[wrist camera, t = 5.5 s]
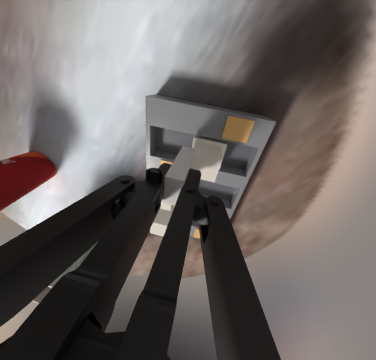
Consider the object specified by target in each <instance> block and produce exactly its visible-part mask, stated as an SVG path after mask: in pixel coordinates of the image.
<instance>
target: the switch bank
mask: <svg viewBox="0 0 376 360" xmlns="http://www.w3.org/2000/svg"><path fill="white" fill-rule="evenodd" d="M275 124H276V121H274V120H273V119H271V118H270V117H268V116H264V115H259V114H254V113H249V112H244V111H239V110H234V109H229V108H223V107H218V106H213V105H208V104H203V103H198V102H193V101H188V100H183V99H177V98H172V97H167V96H162V95H157V94H155V95H149V96H146V160H147V169H149V168H159V167H160V165H161V164H163V163H168V164H173V162H174V160H175V158H176V157H177V155H178V153H179V152H180V150H181V148H182V147H183V146H186V147H190V148H192V144H193V139H194V136H195V135H198V136H203V137H208V138H213V139H217V140H222V141H227V148H226V151H225V154H224V157H223V160H222V163H221V166H220V170H218V174H217V177H216V180H215V182H211V181H206V180H202V179H200V184H199V189H198V191H199V193H200V194H201V195H202V196H204V197H206V198H207V197H209V196H216V197H218V198H220V199H221V200H222V201H223V203H224V205H225V208H226V211H227V213H228V216H229V219H230V218H231V216H232V214H233V212H234V210H235V208H236V206H237V204H238V202H239V199H240V197H241V195H242V193H243V191H244V189H245V187H246V185H247V183H248V181H249V178H250V176H251V174H252V172H253V170H254V168H255V166H256V164H257V162H258V160H259V157H260V155H261V153H262V151H263V149H264V147H265V145H266V143H267V141H268V139H269V136H270V134H271V132H272V130H273V128H274V126H275ZM198 224H199V223H197V222H196V221H194V220H193V221H192V226H191V231H190V236H192V237H196V238H199V239H200V233H199V226H198Z"/></svg>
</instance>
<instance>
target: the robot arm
mask: <svg viewBox="0 0 376 360" xmlns="http://www.w3.org/2000/svg"><path fill="white" fill-rule="evenodd" d="M194 151H195V149H194V148H190V147H186V146H183V147H182V148H181V150H180V152H179V153H178V155H177V157H176V158H175V160H174V162H173V164H168V163H163V164H161V165H160V167H159V168H149V169H147V170H146V180H145V181H142V182H139V181H135V179H134V178H133V177H132V176H126V175H125V176H120V177H118V178H116V179H115V180H113V181H111V182H110V183H108V184H106V185H104V186H103V187H101V188H99V189H98V190H96V191H94V192H92V193H91V194H89V195H87V196H85V197H84V198H82V199H80V200H79V201H77V202H75V203H73V204H72V205H70V206H68V207H67V208H65V209H63V210H61V211H60V212H58V213H56V214H55V215H53V216H51V217H49V218H48V219H46V220H44V221H43V222H41V223H39V224H37V225H36V226H34V227H32V228H31V229H29V230H27V231H25V232H24V233H22V234H20V235H19V236H17V237H15V238H13V239H12V240H10V241H8V242H7V243H5V244H3V245H2V246H0V327H1V326H2V325H3V324H5V323H6V322H7V321H9V320H10V319H11V318H12V317H14V316H15V315H16V314H17V313H18V312H20V311H21V310H22V309H23V308H24V307H25V306H27V305H28V304H29V303H30V302H31V301H32V300H33V299H35V298H36V297H37V296H38V295H39V294H40V293H41V292H42V291H43V290H45V289H46V288H47V287H48V286H49V285H50V284H51V283H52V282H53V281H55V280H56V279H57V278H58V277H59V276H60V275H61V274H62V273H63V272H65V271H66V270H67V269H68V268H69V267H70V266H71V265H72V264H73V263H75V262H76V261H77V260H78V259H79V258H80V257H81V256H82V255H83V254H84V253H86V252H87V251H88V250H89V249H90V248H91V247H92V246H93V245H94V244H96V243H97V244H96V245H95V246H94V248H93V249H92V250H91V251H90V253H89V254H88V255H87V257H86V258H85V259H84V261H83V262H82V263H81V264H80V266H79V267H78V268H77V269H76V270H74V271H71V272H68V273H66V274H65V275H63V276H62V277H61V278H60V279H59V280H58V281H57V282H56V284H55V285H54V286H53V287H52V289H51V290H50V291H49V292H48V293H47V295H46V296H45V297H44V298H43V299H42V301H41V302H40V303H39V304H38V306H37V307H36V308H35V309H34V310H33V312H32V313H31V314H30V315H29V317H28V318H27V319H26V320H25V321H24V323H23V324H22V325H21V326H20V327H19V329H18V330H17V331H16V332H15V334H14V335H13V336H11V337H10V338H8V339H7V340H5V341H4V342H2V343H1V344H0V360H171V359H170V358H169V356H168V355H167V351H168V345H169V340H170V335H171V330H172V325H173V320H174V315H175V309H176V303H177V296H178V291H179V285H180V280H181V276H182V271H183V266H184V261H185V256H186V251H187V246H188V241H189V236H190V231H191V226H192V221H193V220H194V221H196V222H197V223H199V224H198V226H199V233H200V240H201V247H202V254H203V261H204V268H205V276H206V283H207V290H208V297H209V304H210V311H211V318H212V326H213V332H214V340H215V347H216V354H217V360H281V359H280V356H279V353H278V351H277V348H276V345H275V342H274V340H273V337H272V334H271V332H270V329H269V326H268V323H267V320H266V318H265V315H264V312H263V309H262V307H261V304H260V301H259V299H258V296H257V293H256V290H255V288H254V285H253V282H252V279H251V277H250V274H249V271H248V268H247V266H246V263H245V260H244V257H243V255H242V252H241V249H240V246H239V244H238V241H237V238H236V235H235V233H234V230H233V227H232V224H231V222H230V219H229V216H228V213H227V211H226V208H225V205H224V203H223V201H222V200H221V199H220V198H218V197H216V196H209V197H207V198H206V197H204V196H202V195H201V194H200V193H199V191H198V189H199V184H200V179H201V172H200V170H195V169H191V165H192V160H193V155H194ZM162 199H163V203H165V204H169V205H173V206H175V207H174V209H173V212H172V215H171V217H170V220H169V223H168V225H167V228H166V231H165V234H164V236H163V239H162V242H161V244H160V247H159V250H158V252H157V255H156V258H155V261H154V263H153V266H152V269H151V271H150V274H149V277H148V279H147V282H146V285H145V287H144V290H143V291H142V292H141V294H140V296H139V298H138V300H137V303H136V305H135V308H134V310H133V313H132V316H131V318H130V321H129V323H128V326H127V328H126V331H125V332H115V333H104V332H105V330H106V327H107V325H108V323H109V321H110V318H111V316H112V313H113V310H114V306H115V302H116V300H117V297H118V295H119V293H120V291H121V289H122V287H123V285H124V283H125V281H126V278H127V276H128V274H129V272H130V270H131V268H132V266H133V264H134V262H135V260H136V258H137V255H138V253H139V251H140V249H141V247H142V245H143V243H144V241H145V239H146V237H147V234H148V232H149V230H150V228H151V226H152V224H153V222H154V220H155V218H156V216H157V213H158V211H159V209H160V207H161V201H162ZM117 200H118V201H117ZM116 201H117V202H116Z"/></svg>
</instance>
